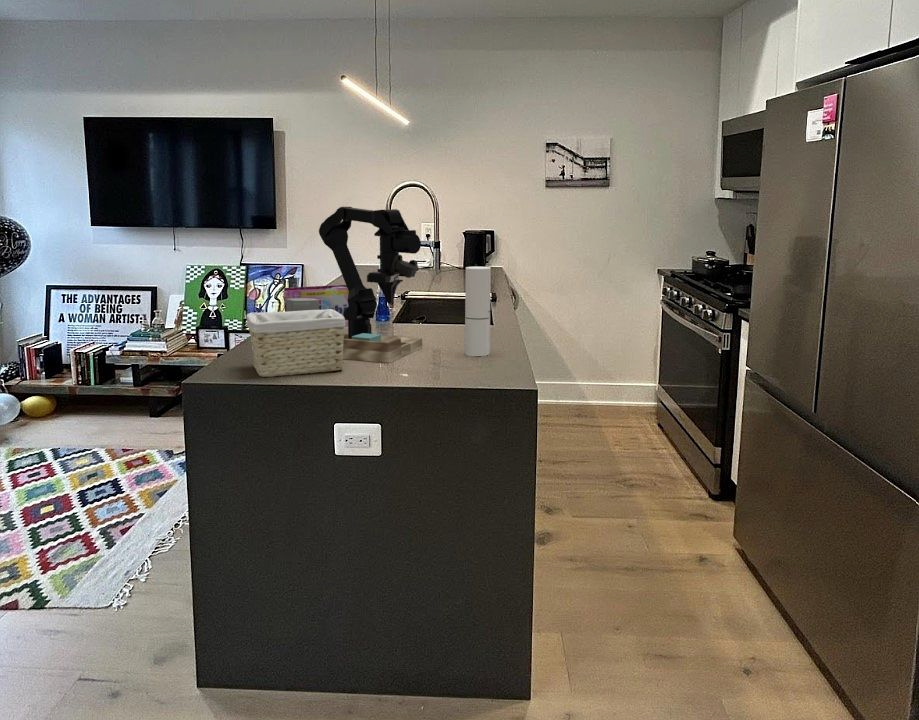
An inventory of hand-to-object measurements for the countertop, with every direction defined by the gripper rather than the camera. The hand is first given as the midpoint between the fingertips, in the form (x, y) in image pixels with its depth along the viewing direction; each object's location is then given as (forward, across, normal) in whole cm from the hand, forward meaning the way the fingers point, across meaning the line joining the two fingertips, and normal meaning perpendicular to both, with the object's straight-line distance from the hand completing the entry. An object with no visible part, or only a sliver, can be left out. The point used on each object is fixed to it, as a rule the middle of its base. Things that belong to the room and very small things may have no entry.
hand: (389, 303), depth 248 cm
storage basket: (+13, -41, +7) cm, 44 cm away
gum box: (+13, +18, +36) cm, 42 cm away
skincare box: (+13, -22, +17) cm, 31 cm away
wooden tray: (+12, -14, -3) cm, 19 cm away
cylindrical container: (+13, -4, -30) cm, 33 cm away
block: (+10, -20, -2) cm, 22 cm away
